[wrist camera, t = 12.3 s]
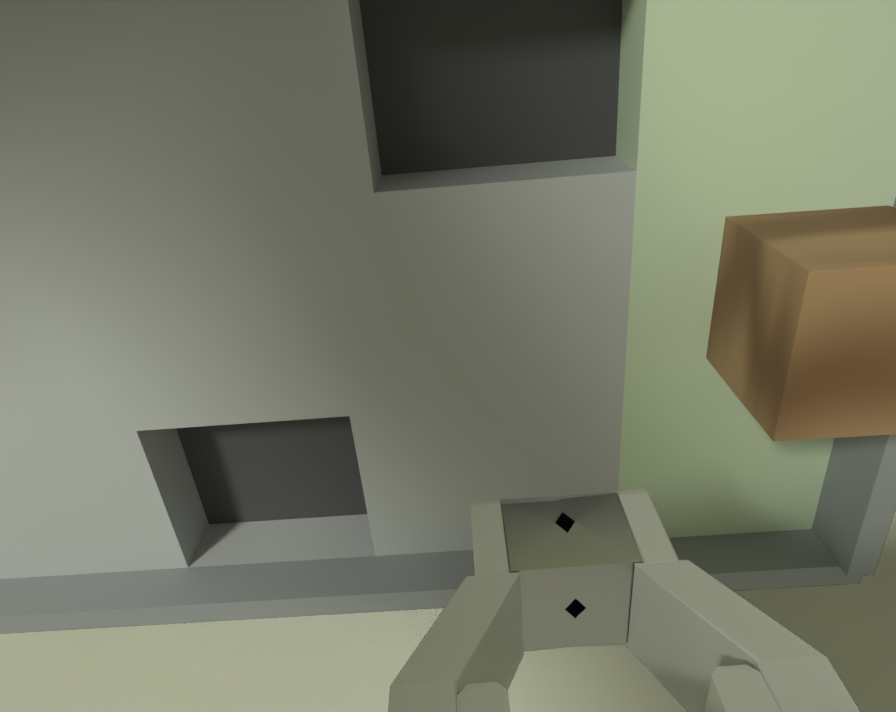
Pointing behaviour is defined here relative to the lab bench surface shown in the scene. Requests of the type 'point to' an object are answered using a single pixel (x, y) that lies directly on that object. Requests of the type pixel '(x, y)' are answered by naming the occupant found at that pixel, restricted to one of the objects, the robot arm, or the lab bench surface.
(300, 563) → the box
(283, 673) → the lab bench surface
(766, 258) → the walnut block
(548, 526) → the robot arm
